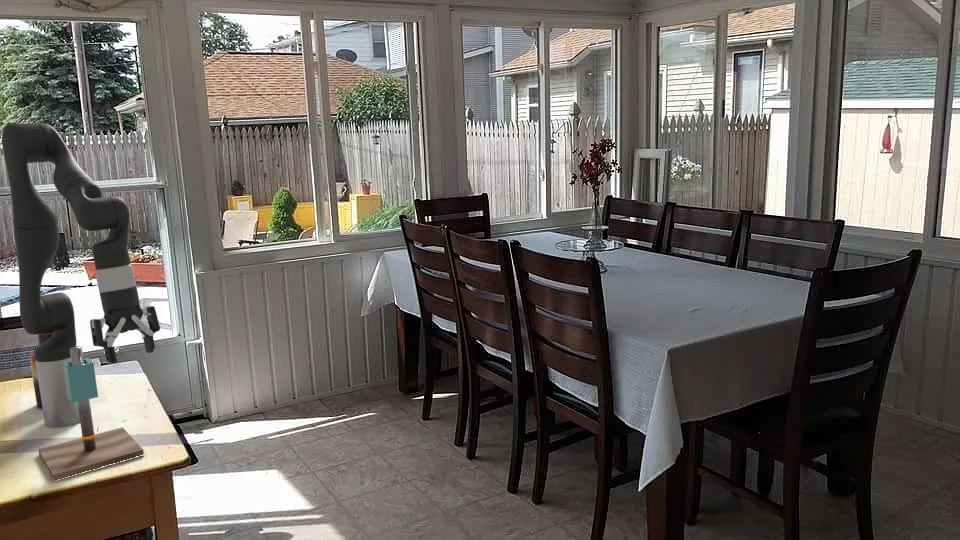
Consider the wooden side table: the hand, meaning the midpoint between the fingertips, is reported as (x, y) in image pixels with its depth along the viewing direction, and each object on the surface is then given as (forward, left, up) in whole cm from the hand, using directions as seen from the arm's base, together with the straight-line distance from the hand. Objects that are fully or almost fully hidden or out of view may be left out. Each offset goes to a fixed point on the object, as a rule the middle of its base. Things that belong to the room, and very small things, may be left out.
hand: (132, 357), depth 165 cm
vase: (-48, -19, -22) cm, 56 cm away
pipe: (-3, -11, -21) cm, 24 cm away
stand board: (-3, -11, -22) cm, 25 cm away
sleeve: (-3, -11, -8) cm, 14 cm away
